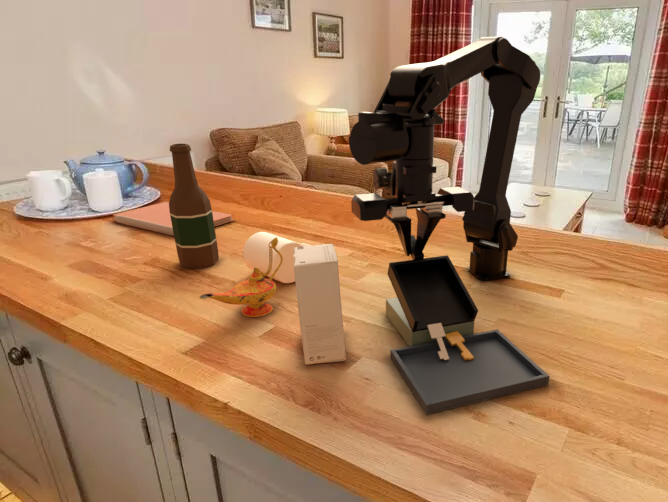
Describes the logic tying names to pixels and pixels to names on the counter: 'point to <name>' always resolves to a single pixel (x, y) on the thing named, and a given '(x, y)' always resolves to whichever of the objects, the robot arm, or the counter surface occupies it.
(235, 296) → the magic lamp
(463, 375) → the tray
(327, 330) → the cosmetic box
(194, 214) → the beer bottle
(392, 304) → the stand
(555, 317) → the counter surface
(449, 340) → the brass key
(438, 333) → the steel key
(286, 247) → the mug
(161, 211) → the notebook
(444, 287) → the dish
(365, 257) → the counter surface
